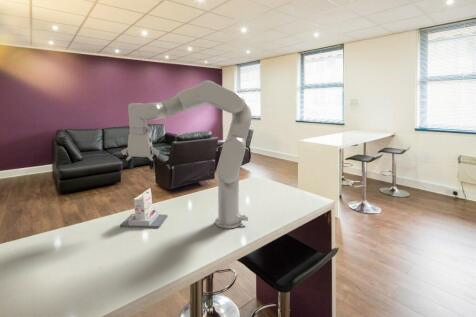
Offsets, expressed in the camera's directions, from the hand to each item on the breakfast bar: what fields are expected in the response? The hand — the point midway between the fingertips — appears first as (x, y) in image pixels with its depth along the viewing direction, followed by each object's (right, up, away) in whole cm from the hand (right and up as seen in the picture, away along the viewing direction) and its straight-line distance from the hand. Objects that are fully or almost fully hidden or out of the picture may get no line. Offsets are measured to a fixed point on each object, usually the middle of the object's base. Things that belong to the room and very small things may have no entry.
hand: (141, 168), depth 125 cm
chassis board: (0, -25, +5) cm, 26 cm away
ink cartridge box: (0, -25, +5) cm, 25 cm away
